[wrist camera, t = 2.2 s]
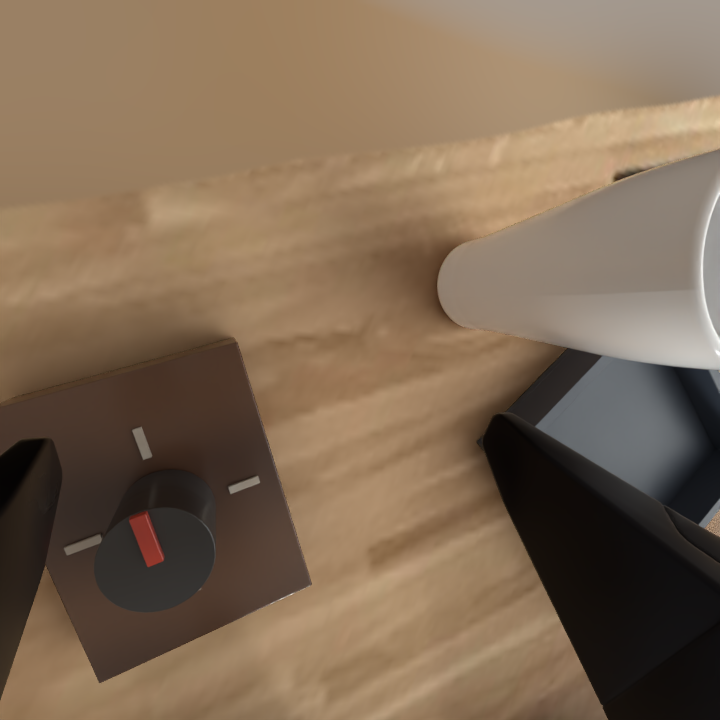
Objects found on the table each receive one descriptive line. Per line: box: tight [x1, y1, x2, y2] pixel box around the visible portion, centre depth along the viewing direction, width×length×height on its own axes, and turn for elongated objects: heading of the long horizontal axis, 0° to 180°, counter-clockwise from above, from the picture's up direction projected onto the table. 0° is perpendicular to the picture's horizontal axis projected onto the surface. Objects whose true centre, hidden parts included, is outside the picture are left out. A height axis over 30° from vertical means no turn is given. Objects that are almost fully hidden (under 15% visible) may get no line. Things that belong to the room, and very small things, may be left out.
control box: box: [0, 338, 312, 683], centre depth 20 cm, size 13×10×3 cm
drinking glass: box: [437, 148, 720, 371], centre depth 19 cm, size 7×7×15 cm
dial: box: [94, 469, 216, 613], centre depth 17 cm, size 4×4×4 cm
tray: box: [477, 348, 720, 528], centre depth 30 cm, size 18×17×3 cm
